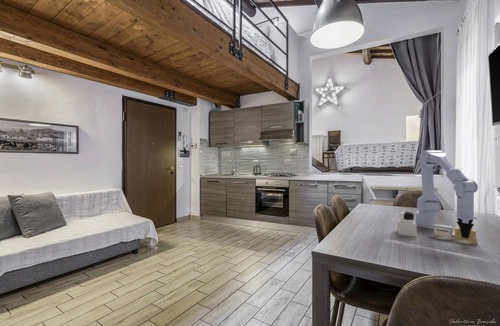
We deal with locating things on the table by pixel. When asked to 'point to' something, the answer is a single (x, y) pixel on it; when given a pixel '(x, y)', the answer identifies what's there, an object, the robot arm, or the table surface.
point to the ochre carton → (471, 238)
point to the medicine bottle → (406, 224)
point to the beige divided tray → (455, 239)
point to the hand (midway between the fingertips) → (465, 235)
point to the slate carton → (442, 230)
